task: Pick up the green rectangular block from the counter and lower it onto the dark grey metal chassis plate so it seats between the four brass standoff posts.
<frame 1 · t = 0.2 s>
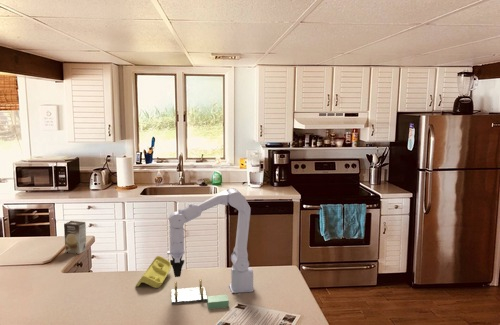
hand: (177, 272, 155), 10 cm above the worktop, fingers open, 7 cm apart
coffee box: (76, 251, 204), on the worktop
green rectangular block: (217, 305, 149), on the worktop
chassis: (188, 296, 155), on the worktop
plastic component: (155, 279, 171), on the worktop
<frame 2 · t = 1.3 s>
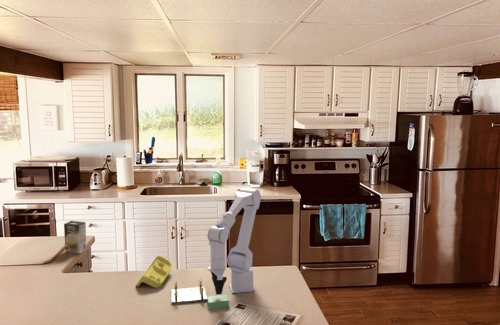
hand: (217, 289, 148), 6 cm above the worktop, fingers open, 7 cm apart
nothing on the worktop moved.
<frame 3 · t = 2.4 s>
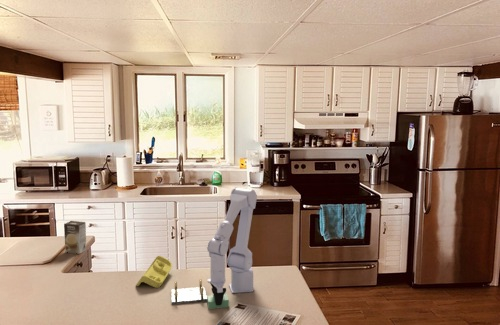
hand: (217, 301, 149), 1 cm above the worktop, fingers closed on green rectangular block, 5 cm apart
green rectangular block: (217, 304, 149), on the worktop, touching gripper
everything else where it was.
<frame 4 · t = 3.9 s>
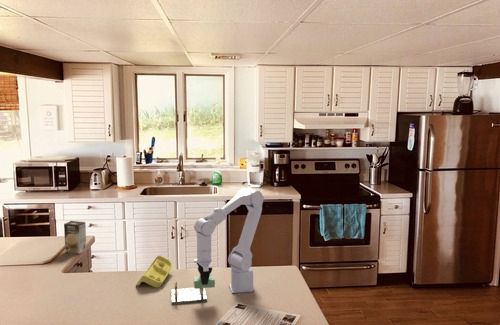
hand: (204, 281, 151), 8 cm above the worktop, fingers closed on green rectangular block, 5 cm apart
green rectangular block: (204, 285, 151), point 7 cm above the worktop, touching gripper
everything else where it was.
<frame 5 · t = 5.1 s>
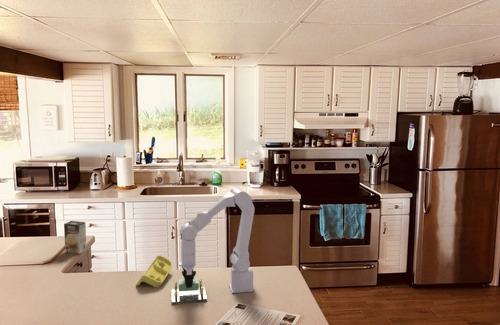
hand: (188, 284, 155), 5 cm above the worktop, fingers closed on green rectangular block, 5 cm apart
green rectangular block: (188, 288, 155), point 4 cm above the worktop, touching gripper
everything else where it was.
when the fingers open (4 cm above the worktop, at t = 6.0 s): green rectangular block drops 1 cm, resting on chassis.
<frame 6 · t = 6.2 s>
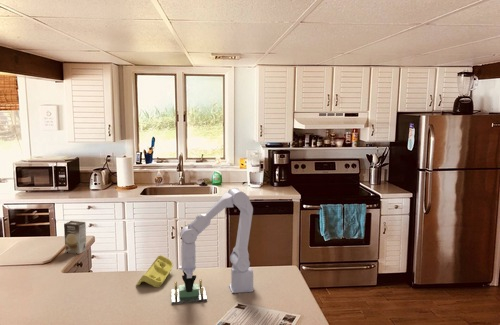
hand: (188, 287, 155), 4 cm above the worktop, fingers open, 7 cm apart
green rectangular block: (188, 293, 155), point 1 cm above the worktop, touching chassis
everything else where it was.
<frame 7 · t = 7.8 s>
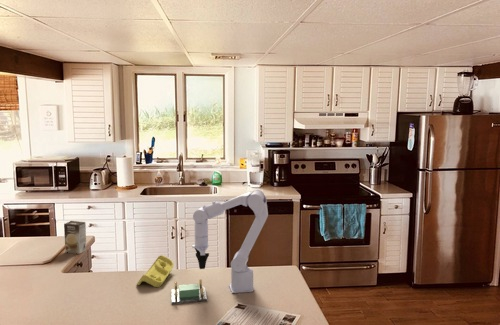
hand: (201, 265, 164), 9 cm above the worktop, fingers open, 7 cm apart
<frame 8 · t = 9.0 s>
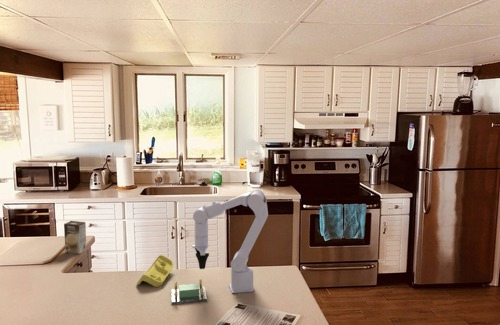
hand: (201, 265, 164), 9 cm above the worktop, fingers open, 7 cm apart
at the end: green rectangular block 0.1 cm off-centre on the chassis, point 1.0 cm above the chassis's base; green rectangular block tilted 0°; the gripper is holding nothing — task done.
